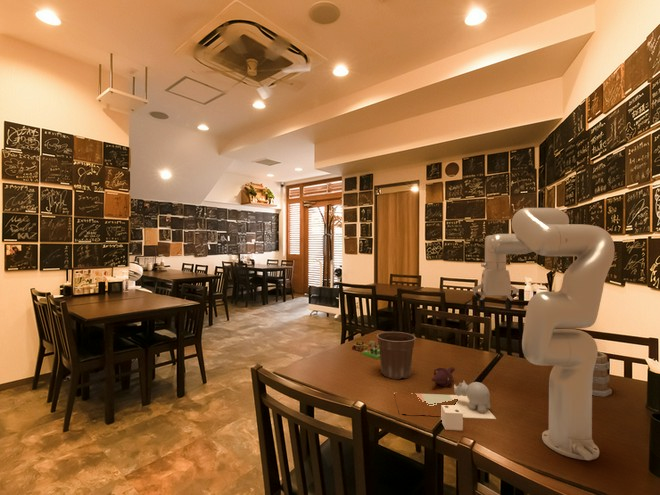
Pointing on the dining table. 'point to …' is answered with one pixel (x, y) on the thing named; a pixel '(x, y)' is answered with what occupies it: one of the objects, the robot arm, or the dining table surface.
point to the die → (451, 417)
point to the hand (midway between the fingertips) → (495, 309)
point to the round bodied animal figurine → (474, 395)
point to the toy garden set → (372, 353)
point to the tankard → (601, 376)
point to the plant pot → (396, 354)
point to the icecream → (443, 376)
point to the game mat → (461, 403)
